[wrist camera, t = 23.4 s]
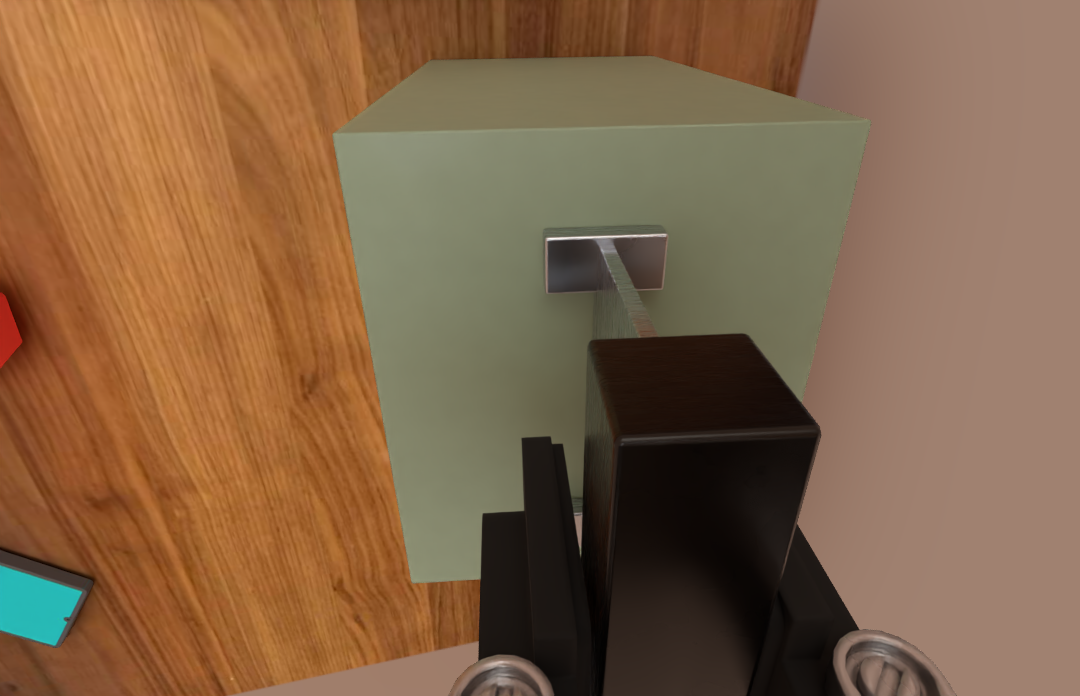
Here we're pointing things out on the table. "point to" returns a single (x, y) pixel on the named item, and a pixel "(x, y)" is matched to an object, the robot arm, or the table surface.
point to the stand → (517, 253)
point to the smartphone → (39, 600)
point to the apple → (7, 331)
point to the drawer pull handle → (676, 479)
